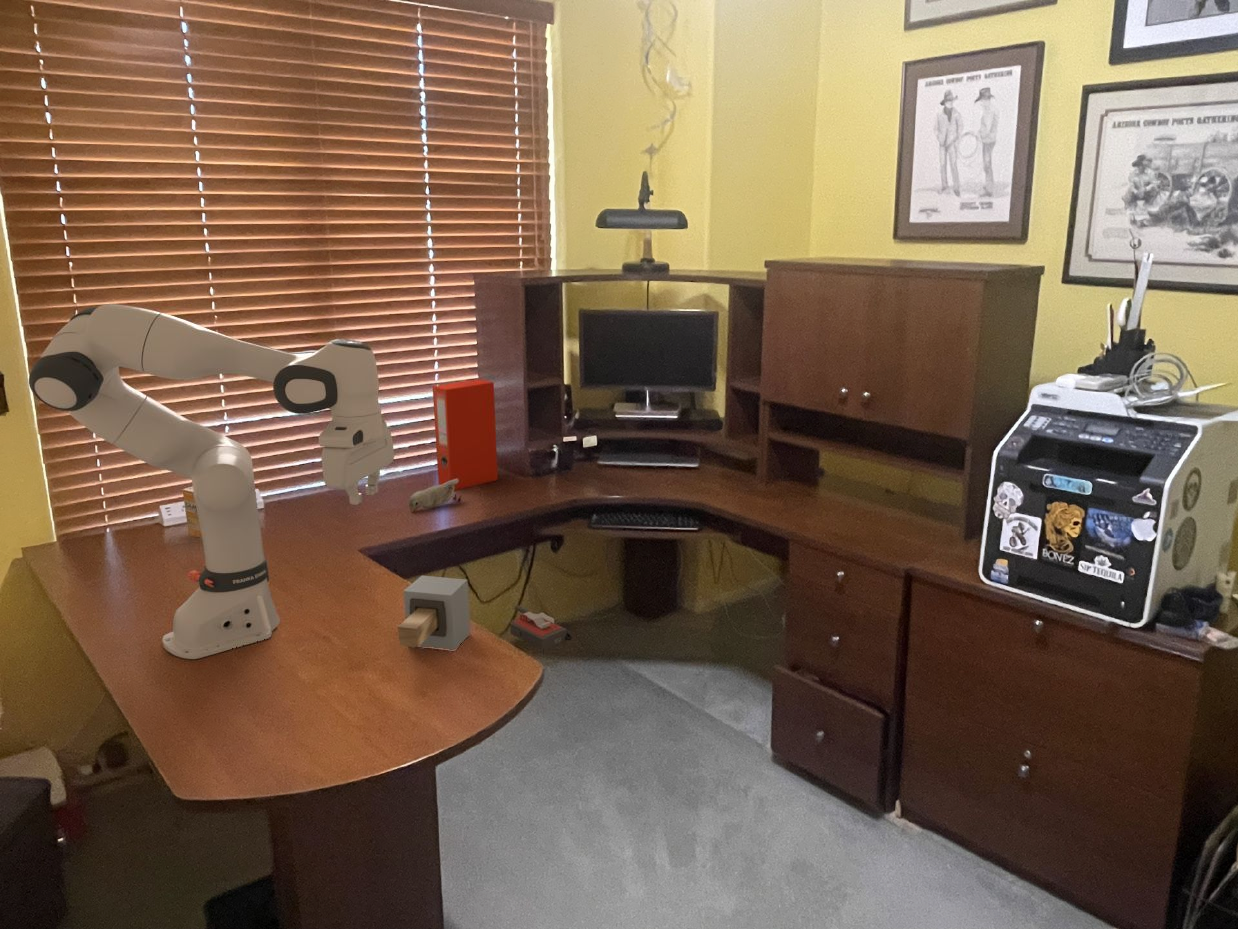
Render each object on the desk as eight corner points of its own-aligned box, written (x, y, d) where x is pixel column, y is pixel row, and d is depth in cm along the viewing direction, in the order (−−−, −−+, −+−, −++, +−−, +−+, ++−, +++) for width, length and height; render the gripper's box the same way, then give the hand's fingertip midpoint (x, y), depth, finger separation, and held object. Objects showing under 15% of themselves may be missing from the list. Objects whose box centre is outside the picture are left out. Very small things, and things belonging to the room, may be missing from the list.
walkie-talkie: (580, 640, 184) (519, 610, 198) (580, 620, 182) (518, 592, 196) (547, 655, 178) (486, 623, 192) (546, 634, 177) (485, 604, 190)
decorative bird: (406, 511, 264) (404, 486, 262) (455, 500, 274) (454, 476, 272) (414, 515, 260) (412, 490, 258) (464, 504, 270) (462, 480, 268)
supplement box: (187, 535, 245) (180, 489, 242) (202, 530, 249) (196, 484, 246) (208, 540, 242) (202, 493, 238) (223, 534, 246) (217, 488, 242)
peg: (417, 647, 169) (416, 628, 168) (399, 645, 170) (397, 626, 169) (449, 615, 183) (447, 598, 182) (431, 614, 183) (430, 596, 182)
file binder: (498, 480, 293) (493, 382, 285) (452, 491, 282) (446, 389, 274) (484, 475, 299) (479, 379, 290) (438, 485, 288) (431, 386, 279)
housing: (453, 653, 178) (449, 597, 175) (406, 648, 180) (401, 592, 177) (470, 634, 186) (467, 579, 183) (425, 629, 188) (421, 575, 185)
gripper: (370, 414, 179) (375, 482, 183) (312, 439, 160) (320, 514, 164) (399, 416, 178) (404, 483, 181) (345, 441, 158) (352, 516, 162)
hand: (364, 498), depth 172 cm, fingers open, 5 cm apart
